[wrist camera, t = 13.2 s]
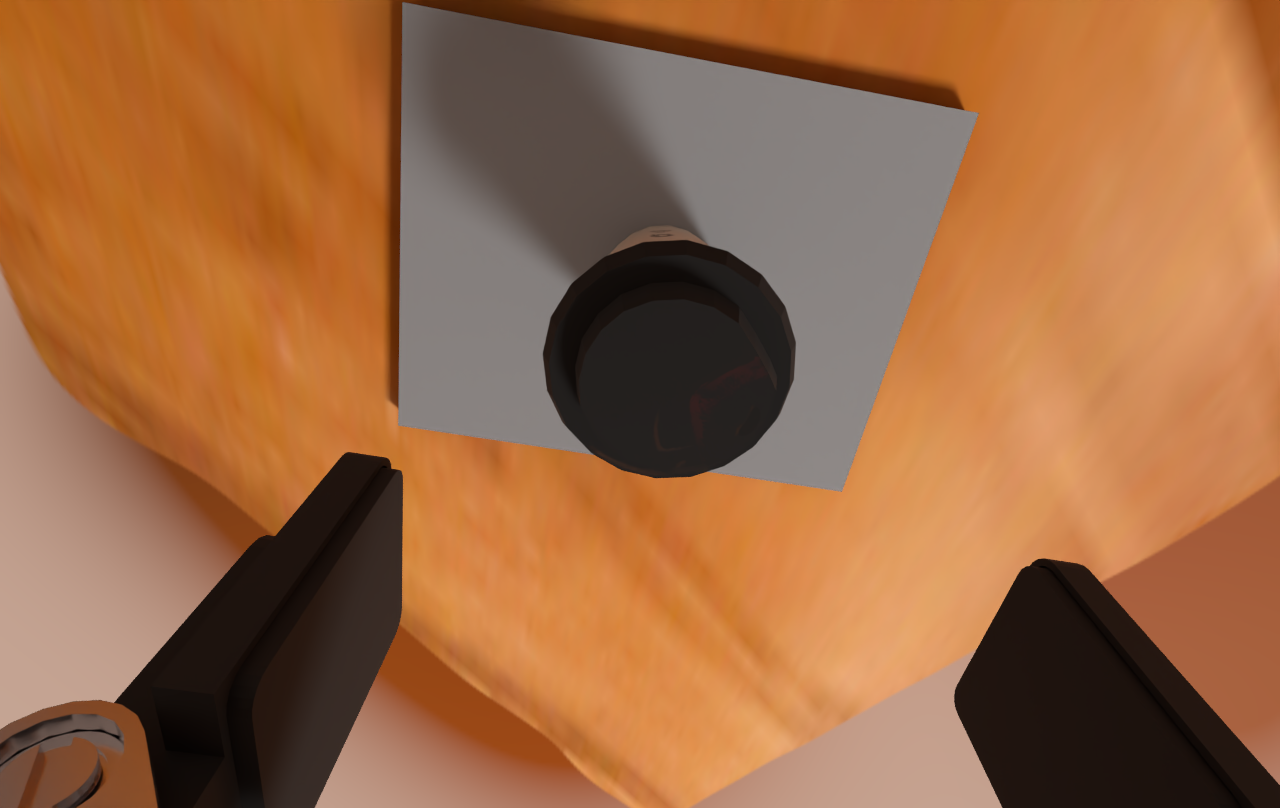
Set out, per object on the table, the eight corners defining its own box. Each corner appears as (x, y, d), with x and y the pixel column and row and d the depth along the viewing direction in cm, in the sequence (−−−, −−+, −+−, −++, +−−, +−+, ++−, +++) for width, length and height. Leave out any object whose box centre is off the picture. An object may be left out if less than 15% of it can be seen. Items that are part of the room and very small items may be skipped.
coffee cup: (547, 326, 26) (496, 449, 17) (615, 159, 24) (597, 201, 15) (701, 391, 28) (729, 537, 19) (783, 239, 25) (863, 324, 16)
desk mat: (966, 112, 24) (978, 113, 23) (836, 479, 31) (841, 491, 30) (411, 5, 22) (402, 1, 22) (405, 415, 29) (398, 425, 28)
